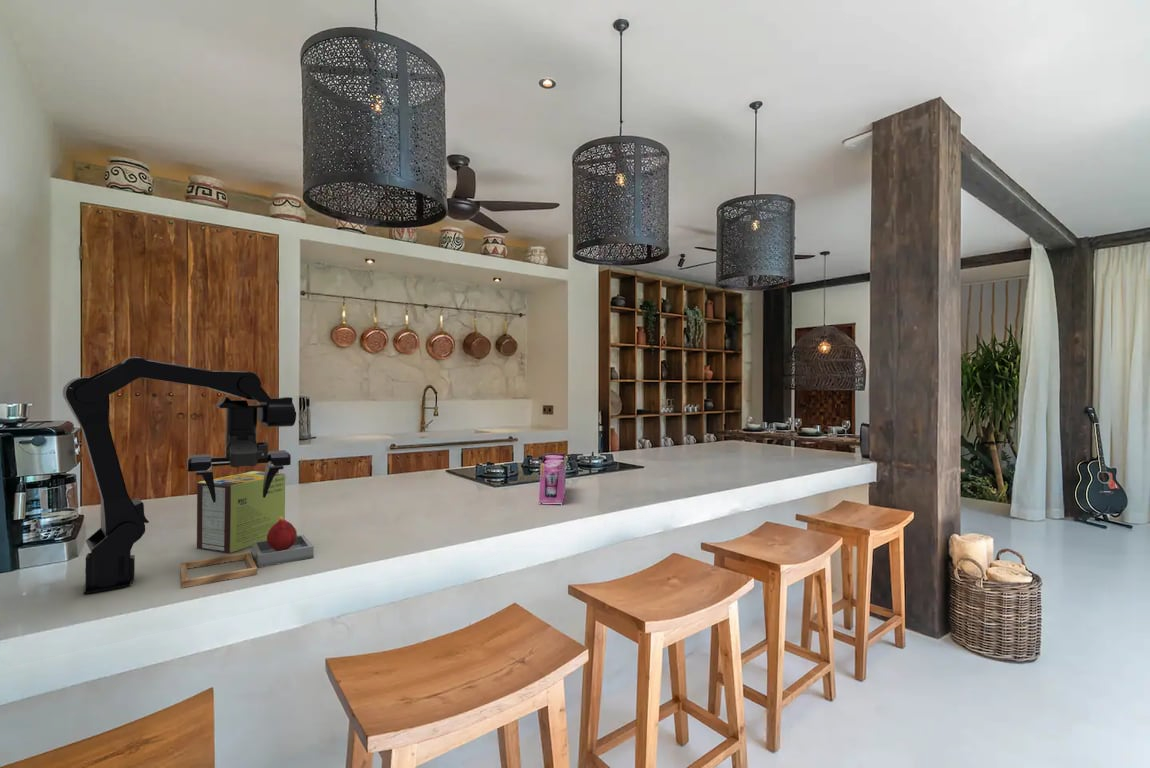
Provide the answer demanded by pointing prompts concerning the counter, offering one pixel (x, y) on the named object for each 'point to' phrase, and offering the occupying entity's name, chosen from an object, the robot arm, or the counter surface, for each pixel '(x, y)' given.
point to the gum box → (552, 478)
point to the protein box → (238, 511)
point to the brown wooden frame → (217, 577)
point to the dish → (281, 552)
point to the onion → (281, 535)
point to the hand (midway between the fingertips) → (239, 499)
